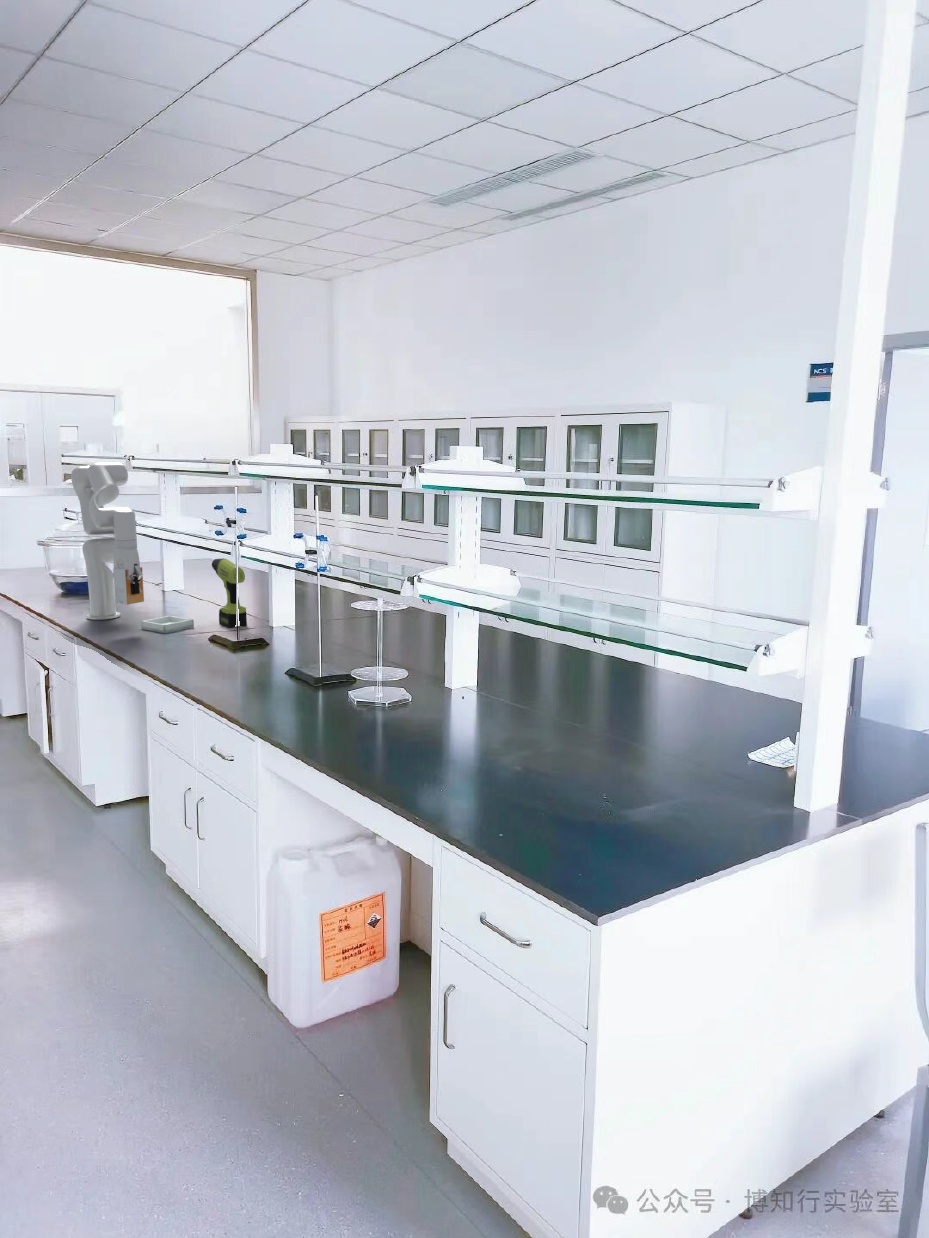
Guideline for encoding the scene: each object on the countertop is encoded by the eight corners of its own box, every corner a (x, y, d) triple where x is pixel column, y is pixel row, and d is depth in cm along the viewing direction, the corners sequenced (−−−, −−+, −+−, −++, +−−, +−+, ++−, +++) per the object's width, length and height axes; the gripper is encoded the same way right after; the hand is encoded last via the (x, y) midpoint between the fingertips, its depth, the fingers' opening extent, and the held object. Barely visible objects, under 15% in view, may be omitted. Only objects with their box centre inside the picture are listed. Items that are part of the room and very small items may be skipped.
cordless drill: (208, 620, 360) (204, 557, 355) (225, 617, 364) (221, 555, 359) (232, 629, 342) (228, 563, 337) (249, 626, 346) (246, 561, 341)
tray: (141, 628, 344) (141, 621, 343) (170, 623, 354) (170, 615, 354) (164, 633, 336) (164, 625, 335) (193, 627, 346) (193, 619, 345)
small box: (127, 605, 330) (124, 569, 327) (115, 603, 333) (112, 568, 330) (144, 601, 337) (142, 566, 334) (132, 599, 340) (130, 565, 337)
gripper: (102, 543, 332) (106, 591, 336) (131, 547, 322) (134, 597, 326) (120, 541, 338) (124, 588, 342) (149, 545, 328) (152, 594, 332)
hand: (129, 592), depth 334 cm, fingers closed on small box, 6 cm apart
